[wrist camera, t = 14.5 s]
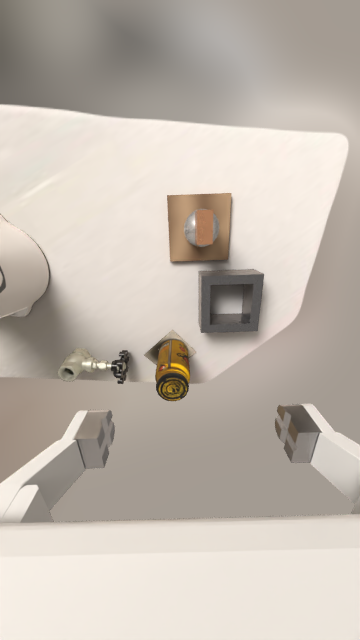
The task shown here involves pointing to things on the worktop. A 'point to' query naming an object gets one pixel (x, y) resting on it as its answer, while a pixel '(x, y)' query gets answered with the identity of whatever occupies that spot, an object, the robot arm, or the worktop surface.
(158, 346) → the condiment
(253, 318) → the housing
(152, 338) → the worktop surface
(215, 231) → the plug
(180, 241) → the board
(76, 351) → the valve
